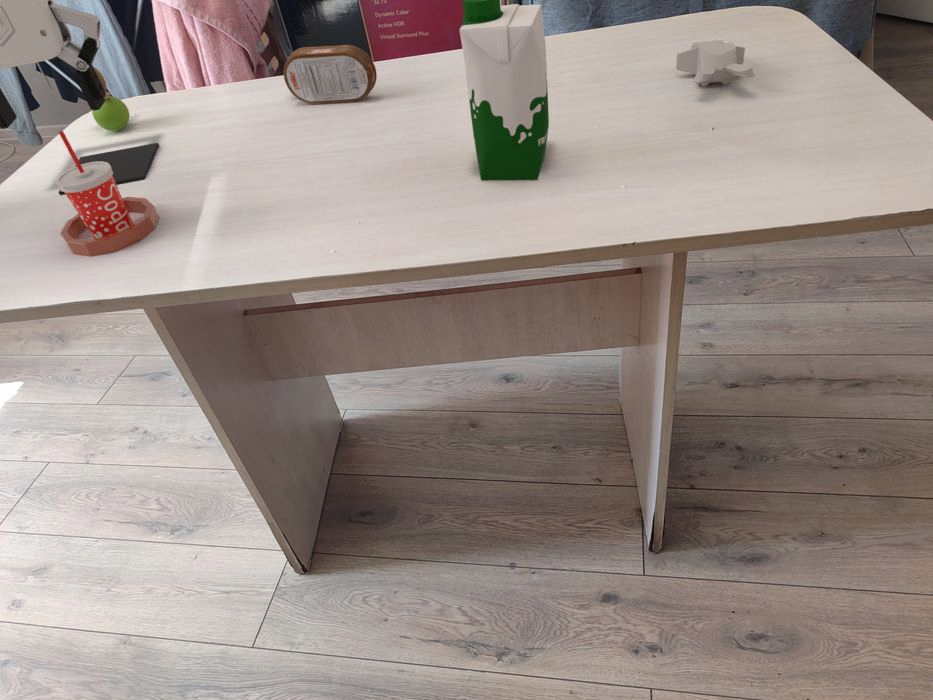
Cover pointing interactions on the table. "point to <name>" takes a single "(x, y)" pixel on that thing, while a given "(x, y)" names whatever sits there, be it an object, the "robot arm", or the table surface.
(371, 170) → the table surface
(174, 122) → the table surface
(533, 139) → the milk carton
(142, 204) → the reddish brown ring
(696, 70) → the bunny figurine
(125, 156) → the mat
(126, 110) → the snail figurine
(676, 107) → the table surface
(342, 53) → the tin
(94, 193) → the beverage cup
